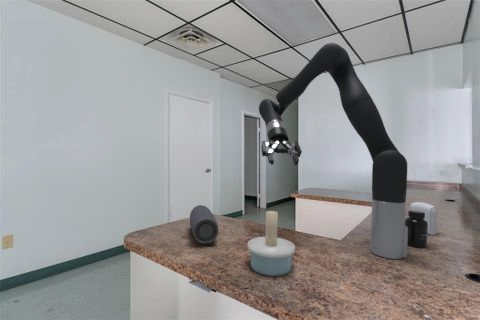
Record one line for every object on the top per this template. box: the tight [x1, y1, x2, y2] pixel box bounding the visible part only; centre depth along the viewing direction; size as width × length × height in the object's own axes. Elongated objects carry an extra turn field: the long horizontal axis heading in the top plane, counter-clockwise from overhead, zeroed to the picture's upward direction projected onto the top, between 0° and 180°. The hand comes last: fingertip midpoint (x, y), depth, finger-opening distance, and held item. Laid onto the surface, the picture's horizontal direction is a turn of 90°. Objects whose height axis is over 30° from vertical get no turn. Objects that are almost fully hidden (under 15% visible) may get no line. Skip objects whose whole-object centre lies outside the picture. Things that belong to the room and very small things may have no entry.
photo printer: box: [409, 201, 438, 236], centre depth 105 cm, size 10×4×12 cm, turn 13°
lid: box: [247, 210, 296, 258], centre depth 68 cm, size 13×13×10 cm
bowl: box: [250, 252, 293, 277], centre depth 68 cm, size 11×11×5 cm
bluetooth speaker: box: [189, 204, 219, 245], centre depth 91 cm, size 23×9×10 cm, turn 14°
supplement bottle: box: [405, 209, 429, 249], centre depth 88 cm, size 7×7×12 cm
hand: (284, 163), depth 85 cm, fingers open, 8 cm apart
